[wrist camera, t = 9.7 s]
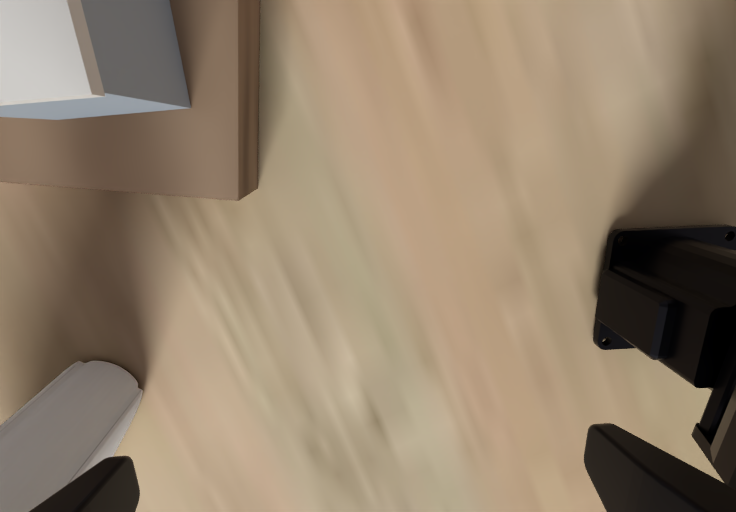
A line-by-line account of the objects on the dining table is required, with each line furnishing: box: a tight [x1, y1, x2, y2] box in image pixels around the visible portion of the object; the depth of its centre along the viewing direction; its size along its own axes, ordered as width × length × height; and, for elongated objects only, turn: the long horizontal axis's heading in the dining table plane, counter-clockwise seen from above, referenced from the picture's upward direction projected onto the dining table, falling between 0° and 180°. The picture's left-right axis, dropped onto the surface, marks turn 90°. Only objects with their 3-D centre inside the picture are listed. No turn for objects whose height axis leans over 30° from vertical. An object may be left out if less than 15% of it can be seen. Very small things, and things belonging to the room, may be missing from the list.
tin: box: [0, 0, 191, 120], centre depth 10 cm, size 5×5×6 cm
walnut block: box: [0, 0, 260, 201], centre depth 15 cm, size 9×9×4 cm
